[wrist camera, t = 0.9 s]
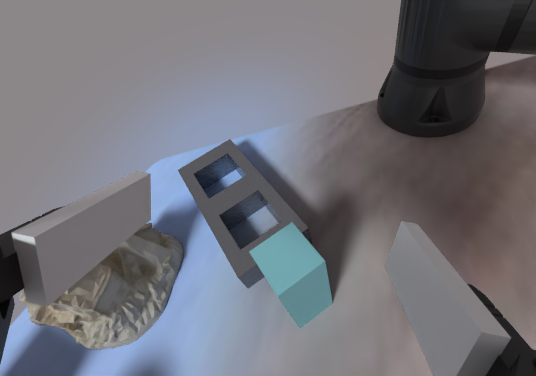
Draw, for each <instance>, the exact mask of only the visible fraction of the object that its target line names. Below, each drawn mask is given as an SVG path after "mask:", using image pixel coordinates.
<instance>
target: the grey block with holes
mask: <svg viewBox="0 0 536 376" xmlns="http://www.w3.org/2000/svg"><path fill="white" fill-rule="evenodd" d="M235 169H236V170H237V171H238V173H239V174H240V175H241V176H242V178H241V179H240V180H238V181H236V182H235V183H233V184H232V185H230V186H228V187H227V188H225V189H224V190H222V191H221V192H219V193H217V194H216V195H214V196H213V197H211V198H209V197H208V195H207V193H206V192H205V190H204V189H205V188H206V187H208V186H209V185H211V184H213V183H214V182H216V181H217V180H219V179H221V178H222V177H224V176H226V175H227V174H229V173H230V172H232V171H234V170H235ZM178 171H179V173H180V175H181V177H182V178H183V180H184V182H185V184H186V186H187V187H188V189H189V191H190V193H191V194H192V196H193V198H194V200H195V202H196V203H197V205H198V207H199V209H200V211H201V212H202V214H203V216H204V218H205V219H206V221H207V223H208V225H209V227H210V228H211V230H212V232H213V234H214V236H215V237H216V239H217V241H218V243H219V245H220V246H221V248H222V250H223V252H224V253H225V255H226V257H227V259H228V261H229V262H230V264H231V266H232V268H233V270H234V271H235V273H236V275H237V277H238V278H239V279H240V280H241V281H242V283H243V284H244V285H245V286H246V287H247V288H249V287H251V286H252V285H254V284H255V283H256V282H258V281H259V280H261V279H262V278H263V277H265V276H264V274H263V273H262V271H261V270H260V268H259V267H258V265H257V263H256V262H255V260H254V259H253V257H252V256H251V254H250V252H249V251H251V250H252V249H254V248H255V247H256V246H258V245H259V244H261V243H262V242H264V241H265V240H267V239H268V238H270V237H271V236H272V235H274V234H275V233H277V232H278V231H280V230H281V229H283V228H284V227H286V226H287V225H288V224H290V223H291V222H293V224H294V225H295V226H296V227H297V228H298V230H299V231H300V232H301V233H302V234H303V235H304V237H305V238H306V239H307V240H308V241H309V243H310V244H311V243H312V241H311V236H310V232H309V228H308V227H307V226H306V224H305V223H304V222H303V221H302V220H301V219H300V218H299V217H298V215H297V214H296V213H295V212H294V211H293V210H292V209H291V208H290V206H289V205H288V204H287V203H286V202H285V201H284V200H283V199H282V197H281V196H280V195H279V194H278V193H277V192H276V191H275V189H274V188H273V187H272V186H271V185H270V184H269V183H268V182H267V180H266V179H265V178H264V177H263V176H262V175H261V174H260V173H259V171H258V170H257V169H256V168H255V167H254V166H253V165H252V164H251V162H250V161H249V160H248V159H247V158H246V157H245V156H244V154H243V153H242V152H241V151H240V150H239V149H238V148H237V147H236V145H235V144H234V143H233V142H232V141H231V140H230V139H229V140H228V141H226V142H224V143H223V144H221V145H219V146H218V147H216V148H214V149H212V150H211V151H209V152H207V153H206V154H204V155H202V156H201V157H199V158H197V159H196V160H194V161H192V162H191V163H189V164H187V165H186V166H184V167H182V168H181V169H179V170H178ZM264 206H266V208H267V209H268V210H269V211H270V213H271V214H272V215H273V216H274V218H275V219H276V220H277V221H278V223H279V224H278V225H276V226H275V227H273V228H272V229H270V230H269V231H267V232H266V233H264V234H263V235H261V236H260V237H259V238H257V239H256V240H254V241H253V242H251V243H250V244H248V245H247V246H245V247H244V248H242V249H241V248H240V247H239V245H238V244H237V242H236V240H235V239H234V237H233V235H232V234H231V232H230V231H229V229H231V228H232V227H234V226H235V225H237V224H238V223H240V222H241V221H243V220H244V219H246V218H247V217H249V216H250V215H252V214H253V213H255V212H256V211H258V210H259V209H261V208H262V207H264Z"/></svg>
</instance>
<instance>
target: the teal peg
mask: <svg viewBox="0 0 536 376" xmlns="http://www.w3.org/2000/svg"><path fill="white" fill-rule="evenodd" d="M249 252H250V254H251V256H252V257H253V259H254V260H255V262H256V263H257V265H258V267H259V268H260V270H261V271H262V273H263V274H264V276H265V278H266V279H267V281H268V282H269V284H270V285H271V287H272V289H273V290H274V292H275V293H276V295H277V296H278V298H279V299H280V301H281V302H282V304H283V305H284V306H285V308H286V309H287V311H288V312H289V314H290V315H291V317H292V318H293V319H294V321H295V322H296V324H297V325H298V327H299V328H301V327H302V326H304V325H305V324H306V323H308V322H309V321H310V320H311V319H313V318H314V317H315V316H317V315H318V314H319V313H320V312H322V311H323V310H324V309H326V308H327V307H328V306H329V305H331V304H332V303H333V302H332V296H331V291H330V285H329V280H328V274H327V268H326V263H325V260H324V259H323V258H322V257H321V256H320V254H319V253H318V252H317V251H316V250H315V248H314V247H313V246H312V245H311V244H310V243H309V241H308V240H307V239H306V238H305V237H304V235H303V234H302V233H301V232H300V231H299V230H298V228H297V227H296V226H295V225H294V224H293V222H291V223H290V224H288V225H287V226H286V227H284V228H283V229H281V230H280V231H278V232H277V233H275V234H274V235H272V236H271V237H270V238H268V239H267V240H265V241H264V242H262V243H261V244H259V245H258V246H256V247H255V248H254V249H252V250H251V251H249Z"/></svg>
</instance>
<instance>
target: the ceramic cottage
mask: <svg viewBox="0 0 536 376" xmlns="http://www.w3.org/2000/svg"><path fill="white" fill-rule="evenodd" d="M182 259H183V246H182V245H181V243H180V242H179V241H178V240H177V239H176V238H175V237H172V236H170V235H168V234H164V233H162V232H159V231H158V230H156V229H152V223H148V224H145V225H144V226H143V227H141V228H140V229H139V230H138V231H137V232H135V233H134V234H133V235H132V236H131V237H130V238H128V239H127V240H126V241H125V242H124V243H122V244H121V245H120V246H119V247H118V248H116V249H115V250H114V251H113V252H112V253H111V254H109V255H108V256H107V257H106V258H105V259H103V260H102V261H101V262H100V263H99V264H98V265H96V266H95V267H94V268H93V269H92V270H90V271H89V272H88V273H87V274H86V275H85V276H83V277H82V278H81V279H80V280H79V281H77V282H76V283H75V284H74V285H73V286H72V287H70V288H69V289H68V290H67V291H66V292H64V293H63V294H62V295H61V296H60V297H59V298H57V299H56V300H55V301H54V302H53V303H51V304H50V305H49V306H48V307H45V306H41V305H37V304H32V303H28V302H26V297H25V293H24V292H22V293H21V294H20V297H19V299H20V300H21V301H22V302H24V303H26V304H27V305H28V312H29V313H30V316H31V317H30V319H29V320H30V321H31V322H32V323H33V322H34V323H35V324H37V325H39V326H46V325H51V326H56V327H60V328H62V329H65V330H66V331H67V333H69V334H70V335H71V336H72V337H73V338H75V339H76V343H80V344H81V345H83V346H85V347H86V348H89V349H90V350H95V349H96V350H97V349H100V350H101V349H103V348H115V347H120V346H122V345H125V344H126V345H127V344H130V343H132V342H134V341H136V340H138V339H139V338H140V337H141V336H142V335H143V334H145V333H146V332H147V331H148V330H149V329H150V328H151V327H152V326H153V324H154V323H155V322H156V321H157V320H158V319H159V317H160V316H161V314H162V313H163V311H164V308H165V307H166V304H167V301H168V298H169V295H170V291H171V290H172V286H173V284H174V282H175V280H176V277H177V273H178V270H179V268H180V265H181V262H182Z"/></svg>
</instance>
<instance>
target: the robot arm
mask: <svg viewBox="0 0 536 376" xmlns="http://www.w3.org/2000/svg"><path fill="white" fill-rule="evenodd" d="M490 52H509V53H521V54H535V55H536V0H401V7H400V15H399V23H398V32H397V40H396V48H395V56H394V63H393V65H392V67H391V69H390V71H389V73H388V75H387V77H386V79H385V82H384V83H383V86H382V88H381V90H380V92H379V96H378V104H377V111H378V114H379V116H380V118H381V119H382V121H383V122H384V123H385V124H387V125H388V126H389V127H391V128H393V129H395V130H397V131H399V132H402V133H405V134H408V135H413V136H420V137H438V136H445V135H450V134H454V133H457V132H459V131H462V130H464V129H465V128H467V127H469V126H470V125H471V124H473V123H474V122H475V120H476V119H477V118H478V116H479V114H480V112H481V109H482V107H483V105H484V101H485V64H486V61H487V59H488V56H489V53H490ZM150 220H151V185H150V174H149V173H144V172H138V171H136V172H134V173H132V174H130V175H128V176H126V177H124V178H122V179H120V180H118V181H116V182H114V183H111V184H110V185H108V186H106V187H103V188H101V189H99V190H97V191H95V192H93V193H91V194H89V195H87V196H85V197H83V198H81V199H79V200H77V201H75V202H73V203H71V204H68V205H66V206H64V207H60V208H56V209H53V210H51V211H49V212H47V213H45V214H43V215H42V216H39V217H36V218H35V219H33V220H32V221H28V222H26V223H24V224H22V225H20V226H18V227H16V228H14V229H11V230H9V231H7V232H5V233H3V234H1V235H0V363H1V359H2V355H3V351H4V346H5V342H6V338H7V334H8V330H9V326H10V321H11V317H12V313H13V309H14V305H15V304H14V299H13V295H15V294H16V293H17V292H19V291H20V290H22V289H23V288H24V293H25V297H26V302H28V303H32V304H37V305H41V306H45V307H48V306H49V305H50V304H51V303H53V302H54V301H55V300H56V299H57V298H59V297H60V296H61V295H62V294H63V293H64V292H66V291H67V290H68V289H69V288H70V287H72V286H73V285H74V284H75V283H76V282H77V281H79V280H80V279H81V278H82V277H83V276H85V275H86V274H87V273H88V272H89V271H90V270H92V269H93V268H94V267H95V266H96V265H98V264H99V263H100V262H101V261H102V260H103V259H105V258H106V257H107V256H108V255H109V254H111V253H112V252H113V251H114V250H115V249H116V248H118V247H119V246H120V245H121V244H122V243H124V242H125V241H126V240H127V239H128V238H130V237H131V236H132V235H133V234H134V233H135V232H137V231H138V230H139V229H140V228H141V227H143V226H144V225H145V224H146V223H147V222H148V221H150ZM385 268H386V270H387V272H388V274H389V277H390V279H391V281H392V283H393V286H394V288H395V290H396V292H397V295H398V297H399V299H400V301H401V304H402V306H403V308H404V310H405V313H406V315H407V317H408V319H409V322H410V324H411V326H412V328H413V331H414V333H415V335H416V337H417V340H418V342H419V344H420V346H421V349H422V351H423V353H424V355H425V358H426V360H427V362H428V364H429V367H430V369H431V371H432V373H433V376H536V350H533V349H531V347H530V346H529V345H528V344H527V343H526V342H525V341H524V339H523V338H522V337H521V336H520V335H519V334H518V332H517V331H516V330H515V329H514V328H513V327H512V326H511V324H510V323H509V322H508V321H507V320H506V319H505V318H503V315H502V314H501V313H500V312H499V311H498V309H496V308H495V306H494V305H493V304H492V302H491V301H490V300H489V299H488V298H487V297H486V296H485V295H484V294H483V293H482V292H480V291H479V290H478V289H476V288H475V287H474V286H472V285H470V284H466V282H465V281H464V280H463V279H462V278H461V276H460V275H459V274H458V273H457V272H456V270H455V269H454V268H453V267H452V265H451V264H450V263H449V262H448V261H447V259H446V258H445V257H444V256H443V255H442V253H441V252H440V251H439V250H438V248H437V247H436V246H435V245H434V244H433V242H432V241H431V240H430V239H429V238H428V236H427V235H426V234H425V233H424V231H423V230H422V229H421V228H420V227H419V225H418V224H416V223H411V222H405V221H401V223H400V226H399V229H398V231H397V234H396V237H395V240H394V242H393V245H392V248H391V251H390V253H389V256H388V259H387V262H386V264H385Z"/></svg>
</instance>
